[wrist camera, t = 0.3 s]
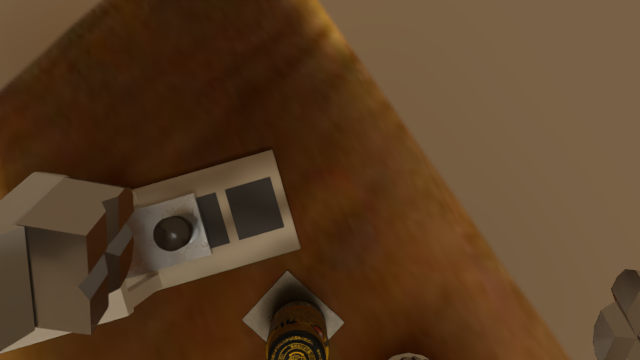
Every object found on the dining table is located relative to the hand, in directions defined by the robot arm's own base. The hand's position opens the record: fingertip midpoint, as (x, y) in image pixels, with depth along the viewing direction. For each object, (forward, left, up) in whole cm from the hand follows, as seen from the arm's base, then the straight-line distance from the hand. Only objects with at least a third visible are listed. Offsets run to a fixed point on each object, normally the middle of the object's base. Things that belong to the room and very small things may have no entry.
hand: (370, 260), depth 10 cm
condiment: (-13, +6, -54) cm, 56 cm away
